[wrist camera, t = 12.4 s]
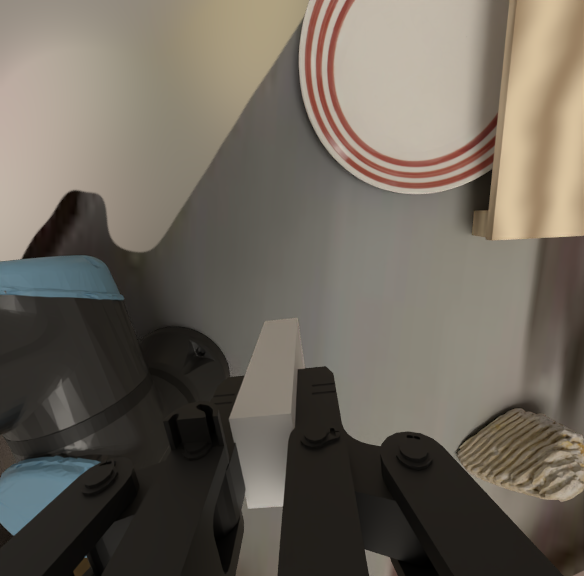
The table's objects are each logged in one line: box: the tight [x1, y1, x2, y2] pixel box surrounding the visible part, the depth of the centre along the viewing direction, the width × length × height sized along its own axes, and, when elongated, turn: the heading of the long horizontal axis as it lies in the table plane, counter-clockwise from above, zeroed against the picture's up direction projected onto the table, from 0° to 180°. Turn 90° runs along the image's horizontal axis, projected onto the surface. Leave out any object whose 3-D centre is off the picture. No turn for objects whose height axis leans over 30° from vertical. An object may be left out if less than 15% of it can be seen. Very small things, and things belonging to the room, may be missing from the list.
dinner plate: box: [299, 0, 509, 194], centre depth 33 cm, size 27×27×3 cm
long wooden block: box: [472, 0, 584, 240], centre depth 30 cm, size 10×37×6 cm, turn 4°
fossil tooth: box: [457, 408, 584, 502], centre depth 40 cm, size 12×6×15 cm
